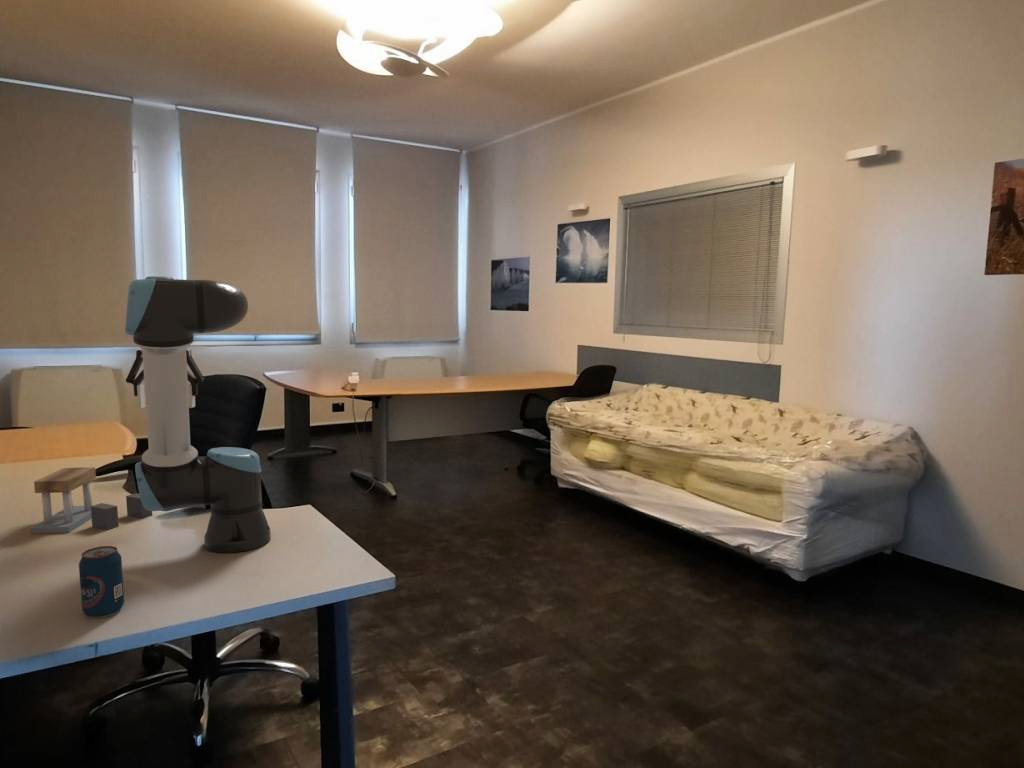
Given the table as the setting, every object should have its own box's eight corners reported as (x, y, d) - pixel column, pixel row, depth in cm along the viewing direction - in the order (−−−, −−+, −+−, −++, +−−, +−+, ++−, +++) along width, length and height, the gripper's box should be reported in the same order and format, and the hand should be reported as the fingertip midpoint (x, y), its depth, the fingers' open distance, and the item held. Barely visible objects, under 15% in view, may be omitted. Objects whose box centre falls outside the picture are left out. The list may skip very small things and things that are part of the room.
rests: (152, 515, 185) (151, 495, 184) (107, 529, 173) (106, 509, 173) (137, 512, 188) (136, 493, 187) (92, 526, 176) (90, 506, 175)
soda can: (73, 618, 126) (68, 556, 124) (101, 602, 133) (97, 543, 131) (106, 621, 125) (101, 559, 123) (133, 604, 131) (129, 546, 130)
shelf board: (95, 477, 186) (95, 467, 185) (68, 492, 172) (67, 480, 171) (64, 478, 185) (64, 467, 184) (35, 493, 171) (34, 481, 171)
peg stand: (103, 510, 189) (101, 475, 188) (69, 532, 171) (66, 494, 170) (69, 511, 188) (66, 476, 187) (31, 533, 170) (28, 495, 169)
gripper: (213, 331, 193) (217, 404, 195) (121, 331, 190) (126, 405, 192) (204, 333, 185) (208, 409, 188) (109, 333, 182) (114, 410, 185)
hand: (167, 407), depth 190 cm, fingers open, 13 cm apart
